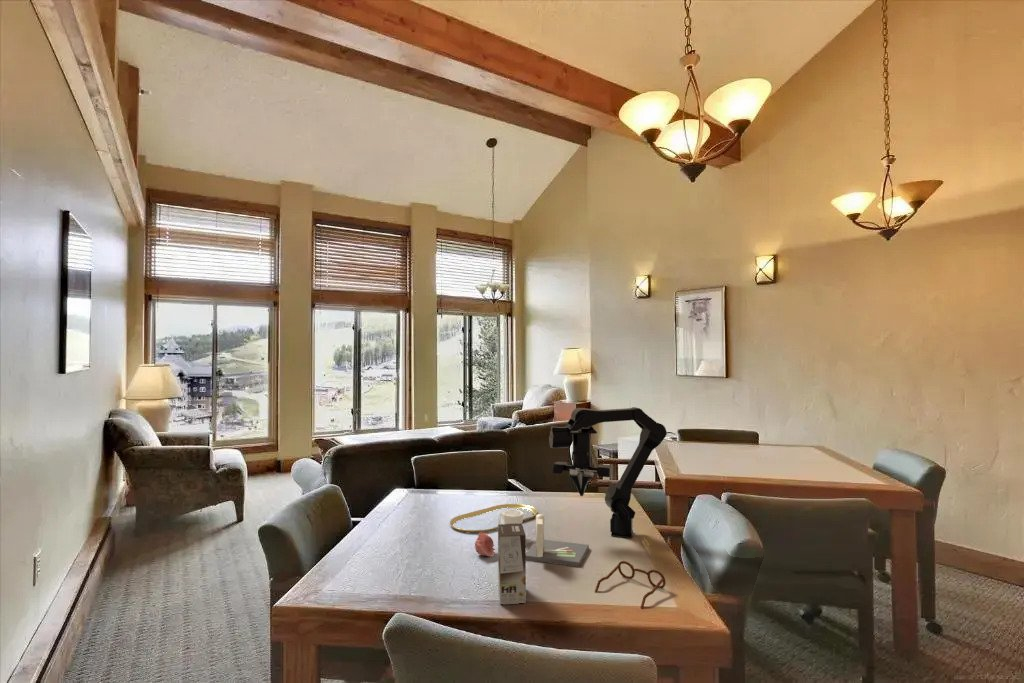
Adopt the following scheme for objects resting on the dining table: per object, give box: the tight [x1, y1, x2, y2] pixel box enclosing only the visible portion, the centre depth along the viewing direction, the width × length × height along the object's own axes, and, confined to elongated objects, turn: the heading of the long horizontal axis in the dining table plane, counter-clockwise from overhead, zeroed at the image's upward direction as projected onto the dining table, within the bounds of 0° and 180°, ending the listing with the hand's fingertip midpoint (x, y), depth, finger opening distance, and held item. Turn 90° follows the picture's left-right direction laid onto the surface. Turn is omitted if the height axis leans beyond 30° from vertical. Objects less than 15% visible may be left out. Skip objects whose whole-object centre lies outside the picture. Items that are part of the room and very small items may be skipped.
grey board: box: [526, 539, 590, 568], centre depth 152 cm, size 16×14×1 cm
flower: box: [474, 531, 496, 558], centre depth 152 cm, size 8×8×6 cm
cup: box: [498, 509, 525, 525], centre depth 167 cm, size 7×10×8 cm
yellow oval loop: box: [449, 503, 538, 534], centre depth 185 cm, size 19×35×2 cm, turn 133°
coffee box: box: [497, 523, 527, 605], centre depth 126 cm, size 9×6×16 cm
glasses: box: [594, 560, 667, 610], centre depth 128 cm, size 13×13×5 cm
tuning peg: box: [535, 513, 572, 557], centre depth 148 cm, size 9×10×10 cm
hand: (581, 495), depth 167 cm, fingers closed
